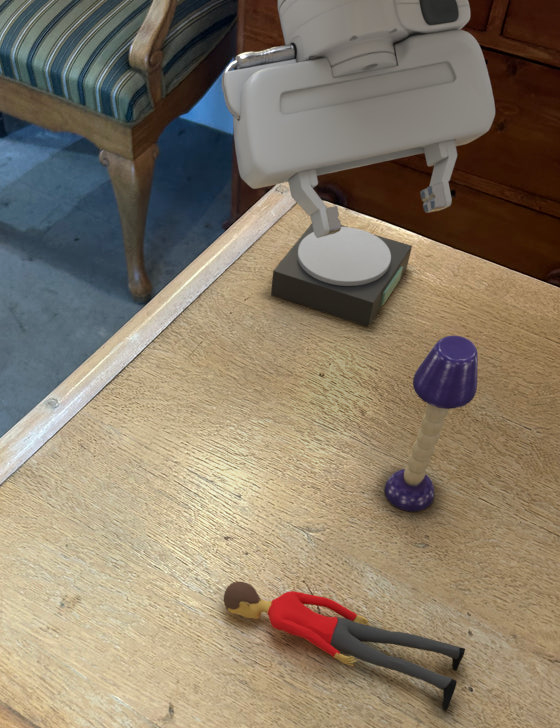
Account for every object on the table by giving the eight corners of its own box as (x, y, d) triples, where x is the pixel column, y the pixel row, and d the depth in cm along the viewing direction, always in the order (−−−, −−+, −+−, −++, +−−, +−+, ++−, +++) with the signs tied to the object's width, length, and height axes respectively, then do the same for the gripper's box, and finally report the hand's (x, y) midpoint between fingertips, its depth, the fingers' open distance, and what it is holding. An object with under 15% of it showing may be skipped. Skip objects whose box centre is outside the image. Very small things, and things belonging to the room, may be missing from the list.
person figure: (450, 678, 68) (228, 604, 72) (466, 636, 66) (237, 563, 71) (445, 717, 64) (209, 635, 68) (462, 673, 62) (218, 592, 66)
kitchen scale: (408, 270, 97) (415, 241, 94) (370, 327, 91) (376, 298, 88) (313, 241, 100) (317, 212, 97) (270, 294, 94) (273, 265, 92)
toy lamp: (447, 506, 76) (503, 355, 63) (402, 525, 75) (450, 375, 62) (414, 468, 79) (461, 316, 66) (370, 486, 78) (409, 335, 65)
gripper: (228, 38, 61) (274, 240, 63) (487, -8, 65) (522, 184, 67) (203, 76, 68) (246, 259, 70) (442, 32, 72) (475, 206, 73)
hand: (384, 221), depth 68 cm, fingers open, 8 cm apart
